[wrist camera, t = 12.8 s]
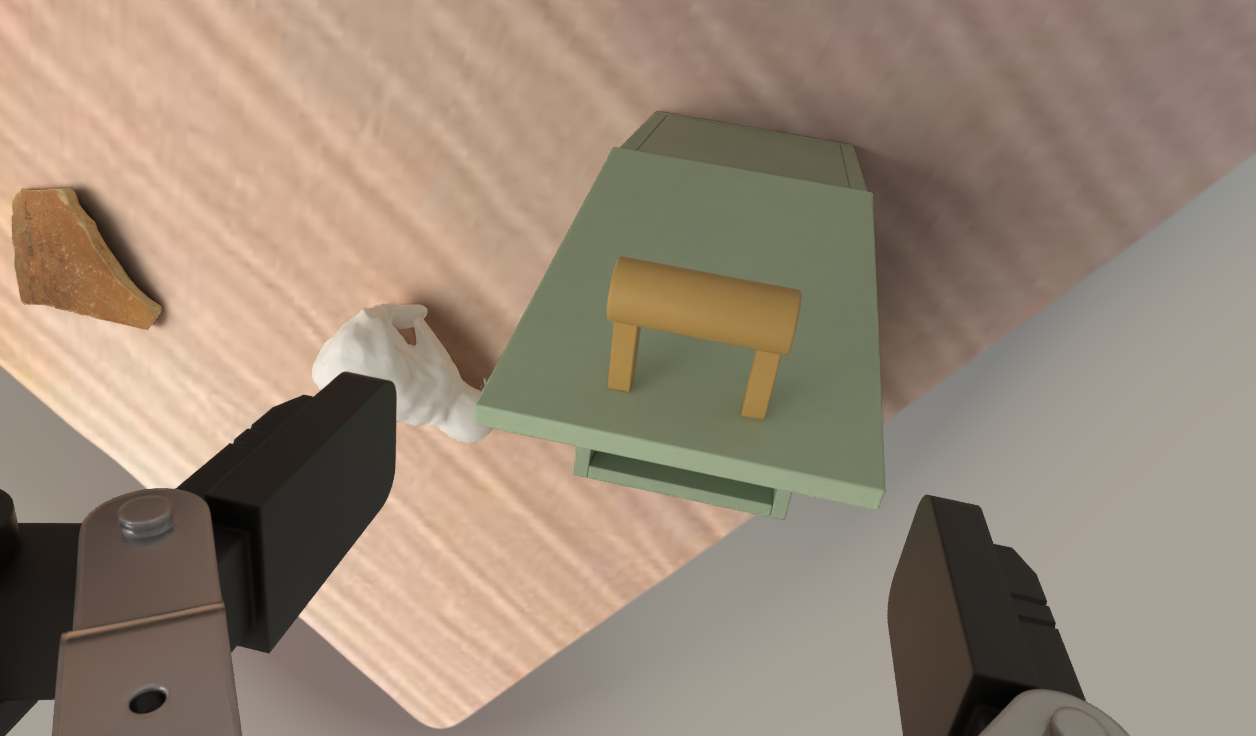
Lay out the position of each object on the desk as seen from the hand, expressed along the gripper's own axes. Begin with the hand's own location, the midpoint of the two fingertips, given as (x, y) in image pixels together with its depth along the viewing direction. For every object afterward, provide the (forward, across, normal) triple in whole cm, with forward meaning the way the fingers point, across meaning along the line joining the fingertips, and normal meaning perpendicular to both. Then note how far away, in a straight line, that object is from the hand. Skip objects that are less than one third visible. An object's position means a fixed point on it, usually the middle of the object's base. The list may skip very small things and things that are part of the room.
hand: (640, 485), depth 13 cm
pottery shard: (+41, +44, +18) cm, 63 cm away
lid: (+19, 0, +4) cm, 19 cm away
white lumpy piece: (+41, +18, +21) cm, 50 cm away
